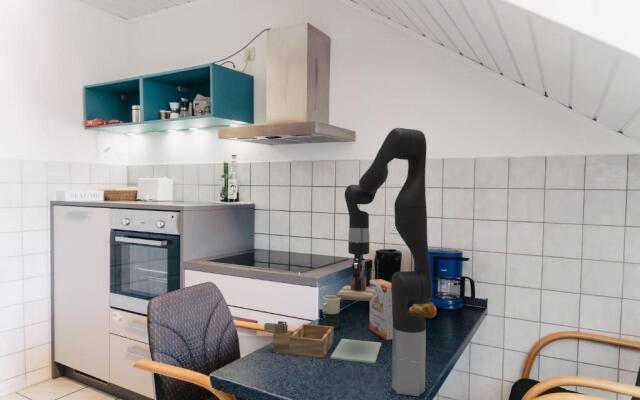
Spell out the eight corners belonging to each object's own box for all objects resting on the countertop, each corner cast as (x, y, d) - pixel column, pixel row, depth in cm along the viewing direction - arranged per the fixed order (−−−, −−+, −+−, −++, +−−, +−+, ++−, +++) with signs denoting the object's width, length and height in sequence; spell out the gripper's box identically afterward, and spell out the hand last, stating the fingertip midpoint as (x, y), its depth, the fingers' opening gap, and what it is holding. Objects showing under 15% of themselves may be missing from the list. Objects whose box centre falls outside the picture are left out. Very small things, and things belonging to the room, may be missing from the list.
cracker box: (368, 330, 172) (369, 279, 172) (381, 328, 174) (381, 278, 174) (385, 341, 158) (386, 286, 158) (399, 339, 161) (399, 285, 161)
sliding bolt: (285, 332, 145) (285, 323, 145) (264, 330, 147) (264, 321, 147) (287, 330, 147) (287, 321, 147) (266, 328, 149) (266, 320, 149)
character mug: (331, 323, 180) (332, 293, 180) (345, 326, 176) (345, 296, 176) (316, 329, 171) (316, 298, 171) (330, 333, 167) (330, 300, 167)
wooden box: (322, 358, 140) (323, 328, 140) (272, 352, 145) (273, 324, 145) (333, 342, 156) (333, 316, 156) (288, 338, 160) (288, 312, 160)
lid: (371, 302, 138) (371, 283, 138) (336, 299, 141) (336, 281, 141) (377, 292, 154) (377, 275, 154) (345, 290, 157) (345, 273, 157)
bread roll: (405, 315, 195) (405, 298, 195) (415, 311, 202) (415, 295, 202) (430, 321, 186) (431, 303, 186) (440, 316, 193) (440, 299, 193)
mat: (374, 363, 136) (375, 361, 136) (330, 358, 140) (330, 356, 140) (381, 344, 155) (381, 342, 155) (341, 340, 159) (341, 338, 159)
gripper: (352, 238, 157) (351, 284, 157) (344, 241, 144) (344, 291, 144) (371, 239, 155) (371, 285, 155) (366, 242, 142) (366, 293, 142)
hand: (358, 288), depth 149 cm, fingers closed on lid, 3 cm apart
